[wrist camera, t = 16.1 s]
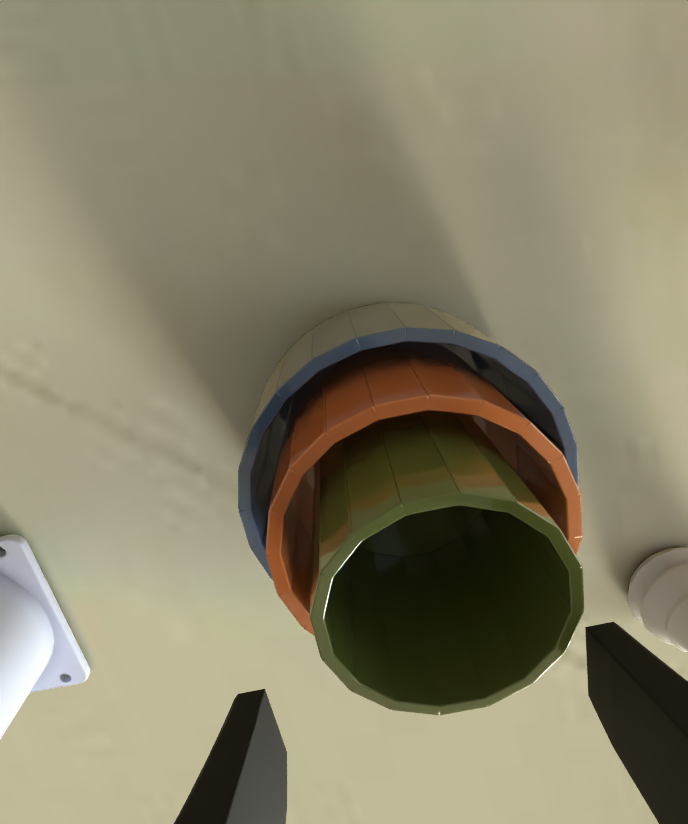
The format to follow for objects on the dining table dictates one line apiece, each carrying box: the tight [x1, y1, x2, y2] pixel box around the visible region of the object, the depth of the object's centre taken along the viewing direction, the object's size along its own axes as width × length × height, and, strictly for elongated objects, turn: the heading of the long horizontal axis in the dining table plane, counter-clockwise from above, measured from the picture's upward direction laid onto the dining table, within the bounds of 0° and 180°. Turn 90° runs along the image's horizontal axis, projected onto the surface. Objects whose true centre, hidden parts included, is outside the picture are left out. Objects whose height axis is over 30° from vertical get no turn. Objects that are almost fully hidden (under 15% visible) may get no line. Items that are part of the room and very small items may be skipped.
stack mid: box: [265, 342, 582, 636], centre depth 17 cm, size 8×8×8 cm
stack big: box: [238, 303, 578, 580], centre depth 18 cm, size 10×10×5 cm
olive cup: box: [310, 410, 584, 715], centre depth 14 cm, size 6×6×6 cm
